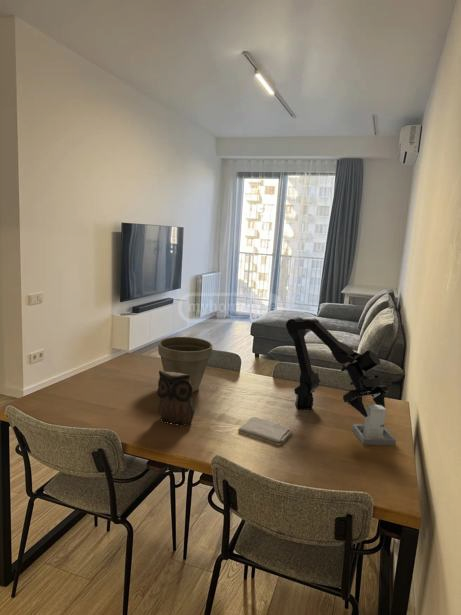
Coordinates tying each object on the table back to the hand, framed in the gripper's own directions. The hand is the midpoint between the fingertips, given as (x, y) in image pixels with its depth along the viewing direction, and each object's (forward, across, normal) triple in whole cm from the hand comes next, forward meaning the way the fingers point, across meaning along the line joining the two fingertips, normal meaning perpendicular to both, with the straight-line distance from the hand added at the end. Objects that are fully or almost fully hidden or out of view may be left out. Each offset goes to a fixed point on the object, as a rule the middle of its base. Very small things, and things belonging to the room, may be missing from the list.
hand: (375, 414), depth 158 cm
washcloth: (-6, -37, +20) cm, 42 cm away
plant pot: (-43, -49, +56) cm, 86 cm away
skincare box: (+6, 0, +7) cm, 9 cm away
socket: (+6, 0, +6) cm, 9 cm away
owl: (-22, -63, +35) cm, 75 cm away
